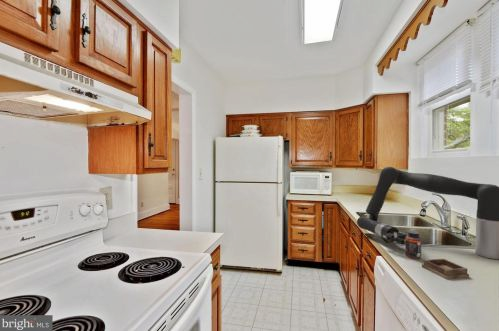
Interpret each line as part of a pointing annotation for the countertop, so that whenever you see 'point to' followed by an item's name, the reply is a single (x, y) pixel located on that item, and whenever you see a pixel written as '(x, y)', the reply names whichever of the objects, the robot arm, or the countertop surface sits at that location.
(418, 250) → the supplement bottle
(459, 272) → the square wooden tray
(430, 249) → the countertop surface
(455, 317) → the countertop surface
